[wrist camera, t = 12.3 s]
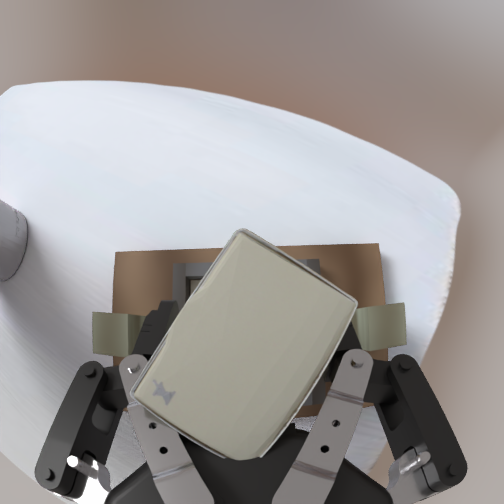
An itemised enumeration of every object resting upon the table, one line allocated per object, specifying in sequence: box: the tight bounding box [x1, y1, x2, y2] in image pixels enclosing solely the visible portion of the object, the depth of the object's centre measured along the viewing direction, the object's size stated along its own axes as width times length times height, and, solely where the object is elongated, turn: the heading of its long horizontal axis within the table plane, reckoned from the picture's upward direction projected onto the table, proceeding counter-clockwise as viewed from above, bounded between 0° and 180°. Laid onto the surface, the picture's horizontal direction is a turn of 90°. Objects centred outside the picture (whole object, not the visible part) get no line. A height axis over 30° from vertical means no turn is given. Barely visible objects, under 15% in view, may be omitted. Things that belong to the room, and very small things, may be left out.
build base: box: [92, 243, 407, 418], centre depth 19 cm, size 23×14×6 cm, turn 92°
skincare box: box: [130, 229, 358, 460], centre depth 13 cm, size 6×4×12 cm
